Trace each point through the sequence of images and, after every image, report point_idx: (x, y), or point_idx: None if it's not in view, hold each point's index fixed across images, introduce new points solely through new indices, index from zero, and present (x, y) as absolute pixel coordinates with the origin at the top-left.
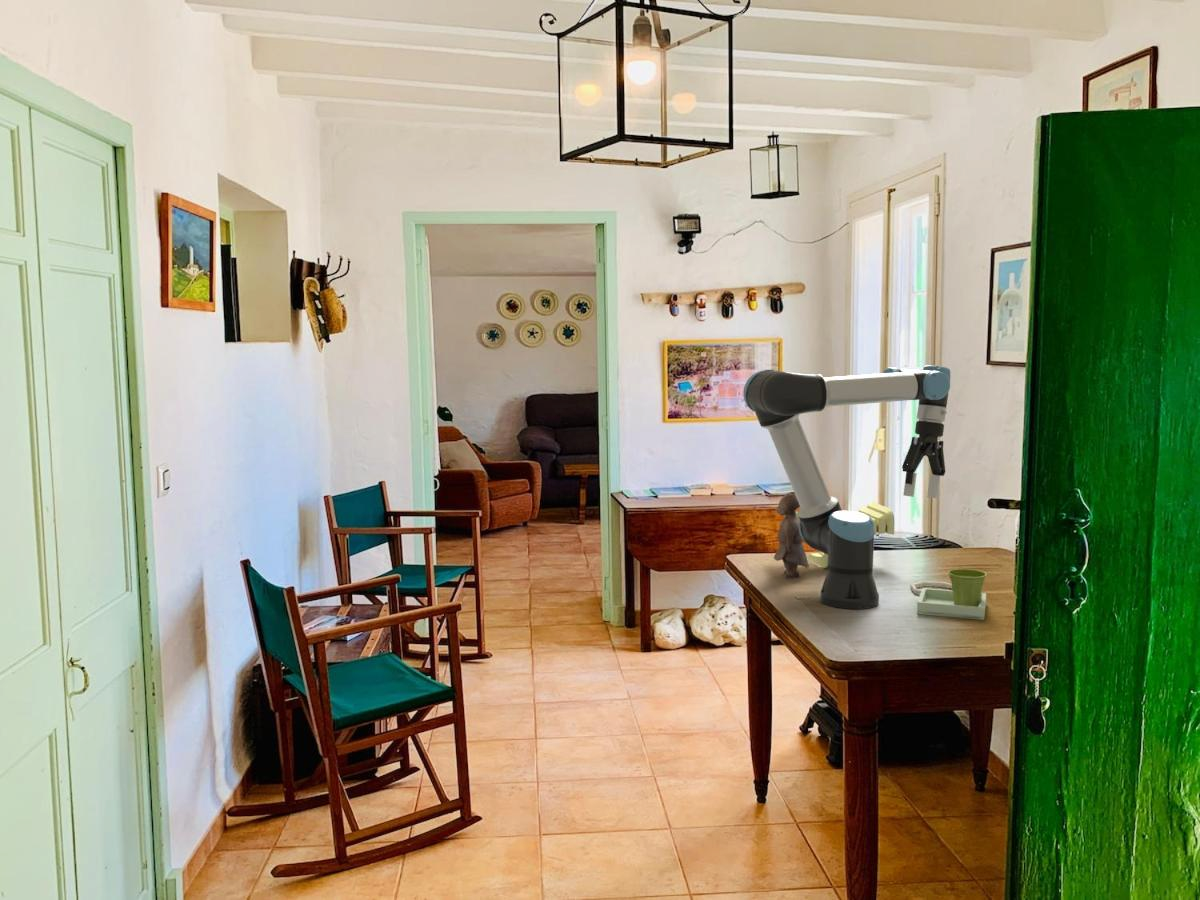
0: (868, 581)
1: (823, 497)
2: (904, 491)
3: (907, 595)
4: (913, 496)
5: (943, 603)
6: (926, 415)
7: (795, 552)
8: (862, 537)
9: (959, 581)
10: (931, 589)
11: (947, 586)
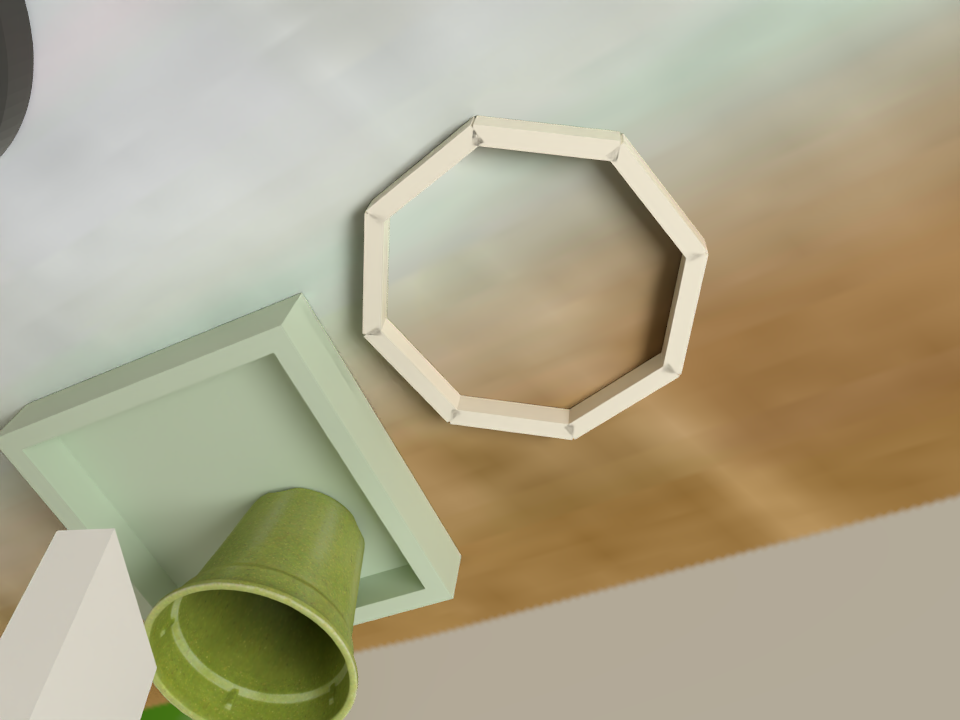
0: None
1: None
2: (30, 603)
3: (302, 190)
4: (150, 672)
5: (249, 446)
6: None
7: None
8: None
9: (168, 633)
10: (290, 378)
11: (676, 287)
